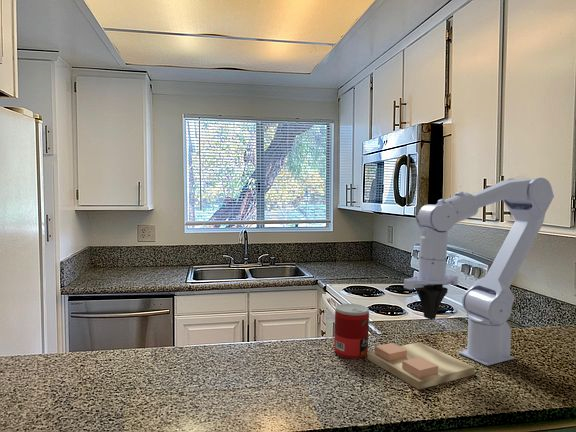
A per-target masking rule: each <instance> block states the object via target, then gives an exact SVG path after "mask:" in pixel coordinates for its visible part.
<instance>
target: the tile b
mask: <svg viewBox="0 0 576 432" xmlns="http://www.w3.org/2000/svg"><path fill="white" fill-rule="evenodd" d="M402 369H404V370H406V371H408V372H410V373H411V374H413V375H415V376H417V377H418V378H422V377H426V376H430V375H434V374H438V366H437V365H435V364H433V363H431V362H429V361H427V360H425V359H423V358H421V357H418V358H413V359H409V360H404V361H402Z"/></svg>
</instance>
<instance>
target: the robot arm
mask: <svg viewBox="0 0 576 432" xmlns="http://www.w3.org/2000/svg"><path fill="white" fill-rule="evenodd" d="M554 198H555V195H554V191H553V187H552V185H551V182H550V181H549V180H548V179H547V178H545V177H536V178H508V179H506V180H505V179H504V180H501V181H499V182H497V183H495V184H492V185H491V186H489V187H486V188H484V189H482V190H479V191H478V192H476V193H473V194H472V193H470V192H467V191H466V192H464V191H457V192H455V193H454V195H453V196H451V197H449V198H446V199H443V198H440V199H438V200H437V203H436V204H424V205H423V206H421V207H420V209H419V211H418V213H417V215H415V223H416V224H417V226H418V228H419V234H420V235H419V236H420V237H419V255H418V256H419V257H418V258H419V261H418V273H416V275H415V276H412V277H410V278H404V279H403V289H407V290H414V291H415V292H416V294H417V295H418V298H419V300H420V304H421V307H422V314H423V317H424V318H425V319H429V320H436V318H437V314H438V311H439V308H440V305H441V303H442V301H443V299H444V298H445V296H446V295H447V294H448V288H447V287H444V286H447V285H453V286H457V285H458V283H459V281H458V280H459V279H458V277H459V276H457V275H452V274H447V273H446V272H447V255H448V254H447V251H448V234H449V231H450V230H451V229H452V228H453V227H454V224H457V223H459V222H462V221H464V220H467V219H469V218H472V217H474V216H477V214H478V212H479V209H481V208H482V207H486V206H488V205H489V206H490V205H492V204H495V203H498V202H500V201H503V203H504V205H505V207H506V208H507V209H508V211H509V213H510V214H511V216H513V217H514V223H513V225H512V226H511V228H510V230H509V232H508V234H507V236H506V237H505V240H504V241H503V243H502V245H501V247H500V249H499V251H498V253H497V255H496V256H495V259H494V260H493V262H492V263H491V266H490V267H489V269H488V271H487V273H486V275H485V276H484V277H482V278H479V279H477V280H475V281H474V282H473V284H472V285H471V287H470V288H469V289H467V290H466V291H465V292H464V293H463V296H462V298H461V299H462V301H461V302H462V303H461V304H462V308H463V309H464V311H466V317H468V322H467V323H468V325H467V342H466V343H467V348H466V349H462V350H459V351H458V354H459V355H461V356H464V357H467V358H468V359H470V360H473V361H475V362H478V363H480V364H483V365H484V366H491V365H495V364H498V363H503V362H507V361H511V360H514V356H513V355H511V346H512V345H511V343H512V329H511V326H510V325H509V323H508V322H507V321H508V320H509V318H510V316H511V314H512V307H513V304H514V301H515V299H516V298H515V295H514V293H513V292H512V290H511V289H510V287H511V285H512V284H513V282H514V280H515V277H516V276H517V274H518V272H519V270H520V269H521V267H522V265H523V263H524V261H525V259H526V257H527V255H528V253H529V251H530V249H531V247H532V245H533V244H534V242H535V240H536V238H537V235H538V234H539V232H540V230H541V229H542V227H543V224H544V221H545V217H546V213H547V211H548V209H549V207H550V205H551V203H552V201H553V200H554Z"/></svg>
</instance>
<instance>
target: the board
mask: <svg viewBox="0 0 576 432" xmlns="http://www.w3.org/2000/svg"><path fill="white" fill-rule="evenodd" d="M398 346H399V347H401V348H403V349H405V350H407V357H406V358H401V359H397V360H392V361H388V360H386V359H384V358H383V357H381V356H379V355H377V354H376V353H375V350H374V351H370V352H369V351H368V352H367V360H368V361H369V362H371V363H373V364H374V365H376V366H378V367H379V368H382V369H383V370H385V371H386V372H389V374H392V375H393V376H395V377H397V378H398V379H400V380H402V381H403V382H405V383H406V384H409V385H410V386H412V387H414V389H417V390H418V391H419V390H422V389H426V388H430V387H434V386H436V385H440V384H445V383H448V382H451V381H452V382H453V381H455V380H460V379H462V378H466V377H470V376H474V375H475V372H476V370H475V369H476V367H475V366H473V365H471V364H468V363H466V362H465V361H462V360H460V359H457V358H455V357H453V356H451V355H449V354H447V353H445V352H442V351H440V350H439V349H435V348H434V347H432V346H429V345H427V344H425V343H422V342H420V341H418V342H412V343H409V344H408V343H407V344H403V345H398ZM418 357H421V358H423V359H425V360H427V361H429V362H431V363H433V364H435V365H437V366H438V374H434V375H430V376H426V377H422V378H418V377H417V376H415V375H413V374H411V373H410V372H408V371H406V370H404V369H402V361H404V360H409V359H413V358H418Z"/></svg>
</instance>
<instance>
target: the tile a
mask: <svg viewBox="0 0 576 432" xmlns="http://www.w3.org/2000/svg"><path fill="white" fill-rule="evenodd" d="M399 346H400V345H397V344H396V343H393V342H389V343H384V344H379V345H375V346H374V351H375V353H376V354H377V355H379V356H381V357H383V358H384V359H386V360H388V361H392V360H397V359H401V358H406V357H407V350H405V349H403V348H401V347H399Z"/></svg>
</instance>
